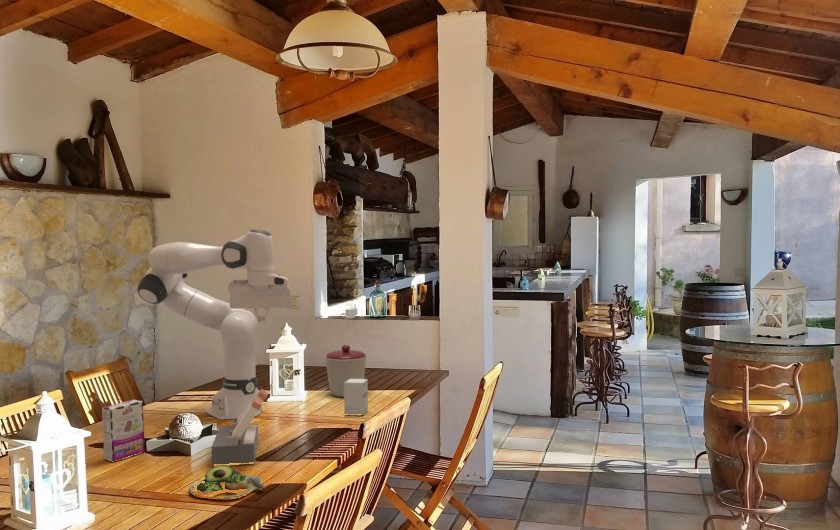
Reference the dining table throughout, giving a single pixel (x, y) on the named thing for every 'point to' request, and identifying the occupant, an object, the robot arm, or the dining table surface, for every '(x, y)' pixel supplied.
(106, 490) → the dining table surface
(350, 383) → the supplement box
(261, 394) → the lever
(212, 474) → the salad plate
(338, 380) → the canister
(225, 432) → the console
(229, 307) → the robot arm
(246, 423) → the lever
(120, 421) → the candy bar box
